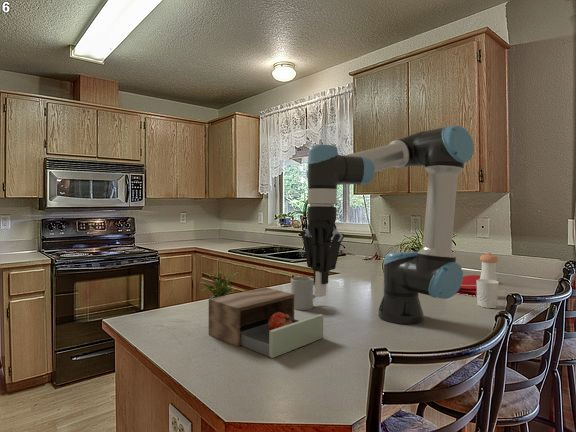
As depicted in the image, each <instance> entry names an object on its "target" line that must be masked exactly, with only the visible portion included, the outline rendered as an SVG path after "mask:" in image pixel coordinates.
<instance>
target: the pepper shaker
mask: <svg viewBox="0 0 576 432" xmlns="http://www.w3.org/2000/svg"><path fill="white" fill-rule="evenodd" d="M479 260H480V262H481V272H480V275H479V276H480V279H488V280H495V281H498V278H497V270H496V269H497V263H498V262H499V258H498V256H497V255H495V254H492V253H491V252H487V254H485V253H484V254H482V255H480V257H479Z"/></svg>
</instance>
